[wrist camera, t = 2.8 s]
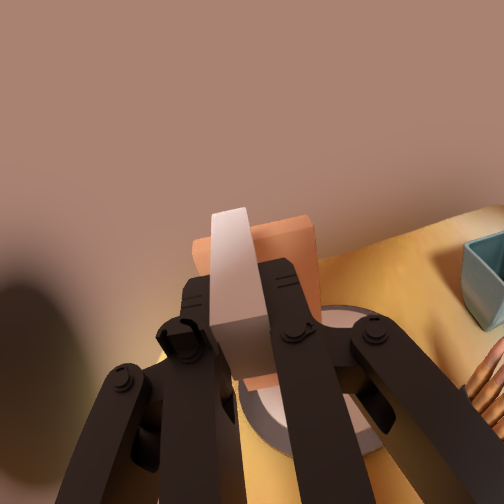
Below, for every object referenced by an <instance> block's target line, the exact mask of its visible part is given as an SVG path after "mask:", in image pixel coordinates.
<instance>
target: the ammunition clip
mask: <svg viewBox="0 0 504 504" xmlns="http://www.w3.org/2000/svg"><path fill="white" fill-rule="evenodd" d="M503 353H504V337H502V338H501V339H500V340H499V341H498V342H497V343H496V344H495V345H494V346H493V348H492V349H491V350H490V352H489V353H488V355H487V356H486V358H485V359H484V360H483V362H482V363H481V364H480V365H479V366H478V367H477V369H476V370H475V372H474V373H473V375H472V376H471V378H470V379H469V381H468V382H467V384H466V385H463V386H462V387H461V388H460V390H459V391H460V392H461V393H462V394H463V395H464V397H465V398H466V399H467V400H468V401H469V402H470V403H471V405H472V406H473V407H474V408H475V409H476V410H477V411H478V413H479V414H480V415H481V416H482V417H483V419H484V420H485V421H486V422H487V423H488V424H489V426H490V427H491V428H492V429H493V430H494V432H495V433H496V434H497V435H498V437H499V438H500V439H501V440H502V441H503V443H504V417H503V416H504V393H503V394H502V395H501V396H500V397H498V395H499V394H500V392H501V390H502V388H503V387H504V364H503V365H502V366H501V368H500V369H499V370H498V372H497V373H496V374H495V375H494V376H493V377H492V379H491V380H490V378H491V376H492V374H493V372H494V369H495V368H496V366H497V364H498V362H499V361H500V359H501V357H502V355H503ZM497 397H498V398H497ZM496 398H497V399H496ZM495 399H496V400H495ZM494 400H495V401H494ZM493 401H494V402H493ZM502 417H503V418H502ZM501 418H502V419H501ZM500 419H501V420H500ZM499 420H500V421H499ZM498 421H499V422H498ZM497 422H498V423H497Z"/></svg>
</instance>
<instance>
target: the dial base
mask: <svg viewBox="0 0 504 504" xmlns="http://www.w3.org/2000/svg"><path fill="white" fill-rule="evenodd" d="M326 310H348V311H354V312H358V313H362V314H365V315H381V314H378V313H376V312H374V311H371V310H367V309H364V308H359V307H354V306H345V305H331V306H321V311H326ZM382 316H383V315H382ZM402 330H403V329H402ZM403 331H404V330H403ZM404 332H405V331H404ZM405 333H406V332H405ZM238 391H239V399H240V403H241V406H242V410H243V412H244V414H245V416H246V418H247V420H248V422H249V424H250V425H251V427H252V428H253V429H254V431H255V432H256V434H257V435H258V436H259V437H260V438H261V439H262V440H263V441H264V442H265V443H267V444H268V445H269V446H270V447H272V448H273V449H275V450H276V451H278V452H280V453H282V454H284V455H286V456H288V457H291V458H293V455H292V449H291V444H290V439H289V434H288V429H286V428H285V427H283V426H281V425H280V424H279V423H278V422H277V421H275V420H274V419H273V418H272V417H271V415H270V414H269V413H268V412H267V410H266V409H265V407H264V405H263V404H262V401H261V399H260V396H259V394H258V391H257V390H253V391H248V389H247V387H246V385H245V383H244V381H243V379H242V380H239V385H238ZM356 437H357V440H358V443H359V447H360V450H361V453H362V456H363V457H364V456H367V455H369V454H371V453H373V452H375V451H377V450H378V449H380V448H381V447H383V446H384V445H383V443H382V442H381V440H380V439H379V438H378V436H377V435H376V433H375V432H374V430H373V429H372V427H371V428H370V429H368V430H366V431H364V432H362V433H359V434H357V435H356Z"/></svg>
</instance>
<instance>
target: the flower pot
mask: <svg viewBox="0 0 504 504" xmlns="http://www.w3.org/2000/svg"><path fill="white" fill-rule="evenodd" d="M461 290H462V295H463V298H464V301H465V304H466V307H467V308H468V310H469V311H470V312H471V314H472V315H473V316H474V318H475V319H476V320H477V322H478V323H479V324H480V326H481V327H482V329H483V330H484V331H485V332H488V331H490V330H492V329H494V328H496V327H497V326H499V325H501V324H503V323H504V231H501V232H498V233H495V234H492V235H489V236H486V237H482V238H479V239H476V240H472V241H469V242H466V243H465V244H464V252H463V261H462V270H461Z"/></svg>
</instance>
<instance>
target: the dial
mask: <svg viewBox="0 0 504 504" xmlns="http://www.w3.org/2000/svg"><path fill="white" fill-rule="evenodd" d="M250 229H251V234H252V238H253V243H254V247H255V251H256V256H257V261H258V263H261V262H265V261H270V260H274V259H279V258H283V257H285V258H286V259H287V260H289V261H290V262H291V263H292V264H293V265H294V268H295V270H296V273H297V276H298V278H299V281H300V284H301V287H302V289H303V292H304V295H305V298H306V300H307V303H308V306H309V309H310V312H311V314H312V316H313V317H314V318H315V319H316V320H317V321H318V322H319V323H321V324H323V325H325V326H329V327H335V328H352V327H353V325H354V323H355V322H356V321H357V320H359V319H360V318H361V317H364V316H367V315H365V314H362V313H358V312H354V311H348V310H326V311H321V299H320V285H319V273H318V261H317V250H316V240H315V231H314V225H313V224H312V222H311V221H310V219H309V217H308V215H302V216H297V217H293V218H288V219H284V220H280V221H275V222H270V223H266V224H261V225H257V226H253V227H250ZM192 256H193V259H194V262H195V264H196V267H197V270H198V272H199V275H200V276H205V275H209V274H210V257H211V236H210V237H205V238H202V239H197V240H194V241H193V248H192ZM243 381H244V383H245V385H246V387H247V389H248V391H253V390H257V391H258V394H259V396H260V399H261V401H262V404H263V405H264V407H265V409H266V410H267V412H268V413H269V414H270V415H271V417H272V418H273V419H274V420H275V421H277V422H278V423H279V424H280V425H281V426H283V427H285V428H286V429H288V428H287V423H286V418H285V413H284V407H283V402H282V397H281V392H280V386H279V381H278V376H277V373H273V374H268V375H263V376H258V377H253V378H247V379H243ZM343 396H344V399H345V402H346V405H347V408H348V412H349V415H350V418H351V421H352V424H353V427H354V430H355V434H356V435H357V434H359V433H362V432H364V431H366V430H368V429H370V428H371V426H370V424H369V423H368V422H367V420H366V419H365V417H364V416H363V414H362V413H361V411H360V410H359V409H358V407H357V406H356V404H355V403H354V401H353V400H352V398H351V397H350V396H349V394H343Z"/></svg>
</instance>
